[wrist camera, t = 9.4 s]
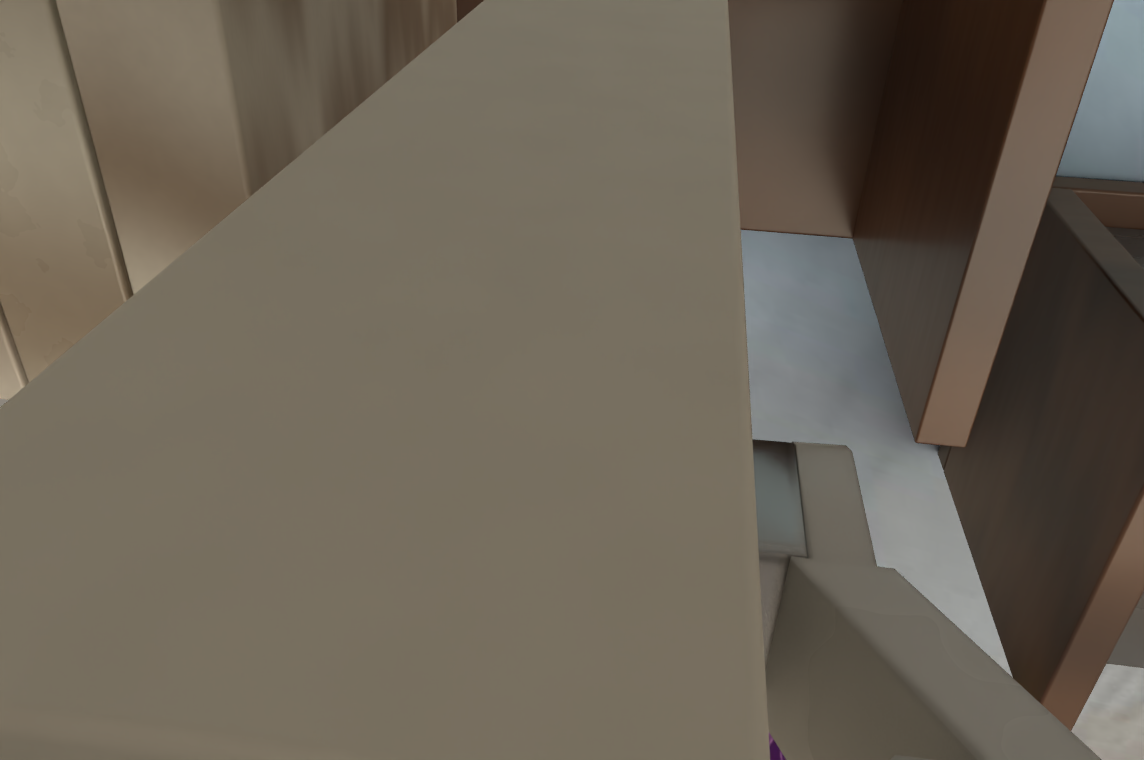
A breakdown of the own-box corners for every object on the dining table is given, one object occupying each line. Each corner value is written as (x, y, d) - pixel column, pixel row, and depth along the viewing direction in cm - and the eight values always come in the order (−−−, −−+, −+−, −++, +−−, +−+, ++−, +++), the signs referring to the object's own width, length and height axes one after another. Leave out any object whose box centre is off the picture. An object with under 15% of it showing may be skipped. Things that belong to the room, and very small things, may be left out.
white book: (555, -63, 13) (-340, 674, 2) (726, -55, 13) (774, 831, 2) (547, 403, 17) (255, 1434, 6) (674, 415, 17) (597, 1513, 6)
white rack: (142, -191, 24) (-420, -183, 12) (993, -160, 22) (1320, -114, 10) (214, 176, 29) (-125, 428, 17) (899, 230, 27) (1037, 558, 15)
